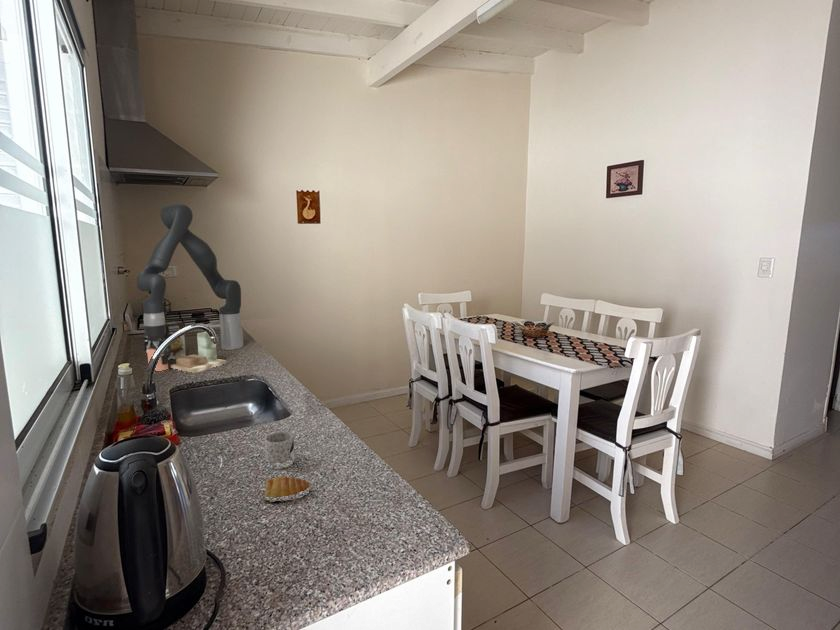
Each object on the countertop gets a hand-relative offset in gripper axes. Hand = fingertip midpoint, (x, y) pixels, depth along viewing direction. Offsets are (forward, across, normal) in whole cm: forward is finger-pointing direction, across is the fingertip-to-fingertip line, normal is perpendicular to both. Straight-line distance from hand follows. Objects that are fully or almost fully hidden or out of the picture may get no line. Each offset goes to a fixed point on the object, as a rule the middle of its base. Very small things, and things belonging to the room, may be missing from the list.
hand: (158, 362), depth 195 cm
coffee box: (+3, +13, -16) cm, 21 cm away
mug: (+4, -99, +38) cm, 106 cm away
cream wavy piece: (+3, -9, -12) cm, 15 cm away
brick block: (+3, 0, 0) cm, 3 cm away
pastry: (+4, -111, +50) cm, 122 cm away
